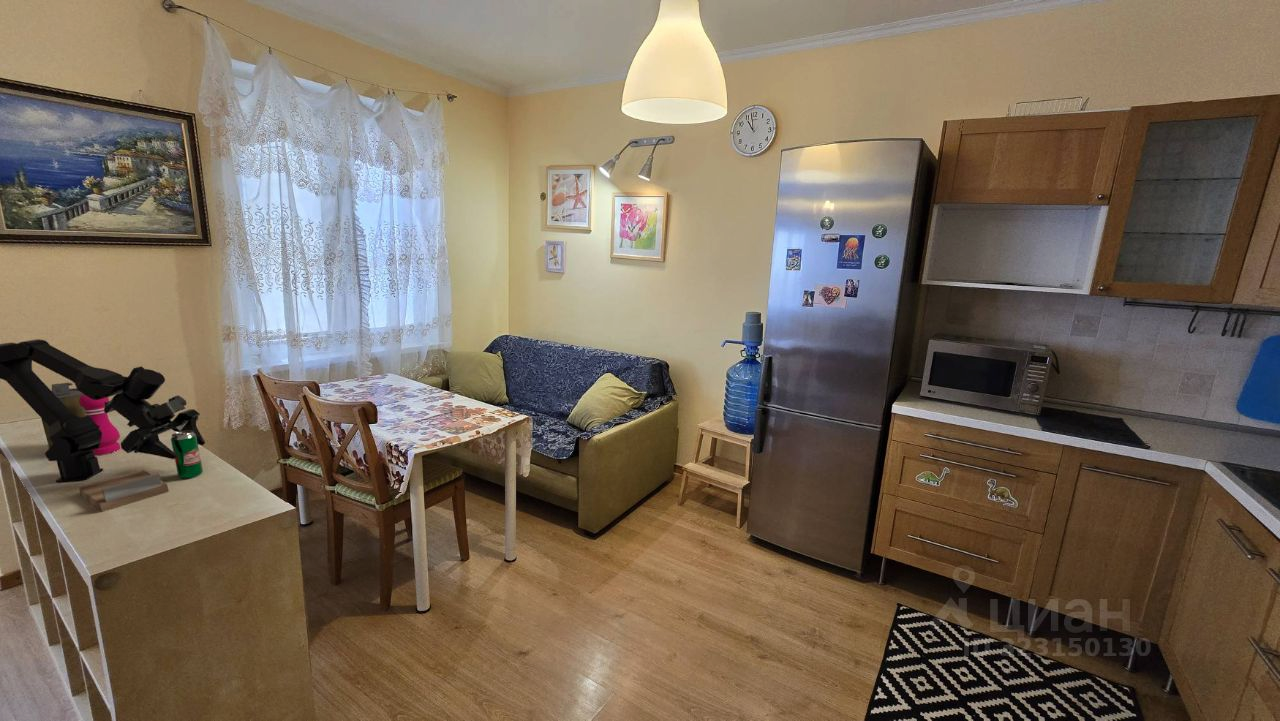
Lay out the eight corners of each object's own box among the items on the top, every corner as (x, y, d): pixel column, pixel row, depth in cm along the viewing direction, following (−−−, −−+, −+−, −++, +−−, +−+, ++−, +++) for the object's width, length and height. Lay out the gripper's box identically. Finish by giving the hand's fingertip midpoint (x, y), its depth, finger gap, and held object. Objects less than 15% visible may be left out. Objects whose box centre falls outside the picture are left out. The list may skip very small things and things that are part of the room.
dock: (80, 494, 128) (76, 475, 127) (144, 476, 138) (140, 459, 137) (102, 511, 120) (97, 491, 119) (168, 491, 130) (164, 472, 129)
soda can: (188, 480, 136) (180, 437, 133) (173, 478, 137) (164, 435, 134) (208, 472, 141) (200, 430, 138) (193, 470, 142) (184, 429, 139)
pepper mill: (83, 454, 153) (67, 388, 148) (114, 445, 159) (100, 382, 155) (96, 457, 150) (80, 391, 146) (128, 449, 156) (113, 384, 152)
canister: (97, 439, 164) (82, 378, 160) (101, 447, 158) (86, 383, 153) (45, 449, 156) (29, 385, 151) (48, 458, 149) (30, 391, 145)
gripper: (122, 400, 124) (178, 443, 127) (186, 380, 143) (234, 418, 145) (95, 431, 126) (152, 473, 129) (162, 408, 144) (210, 445, 147)
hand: (190, 450), depth 137 cm, fingers open, 9 cm apart
